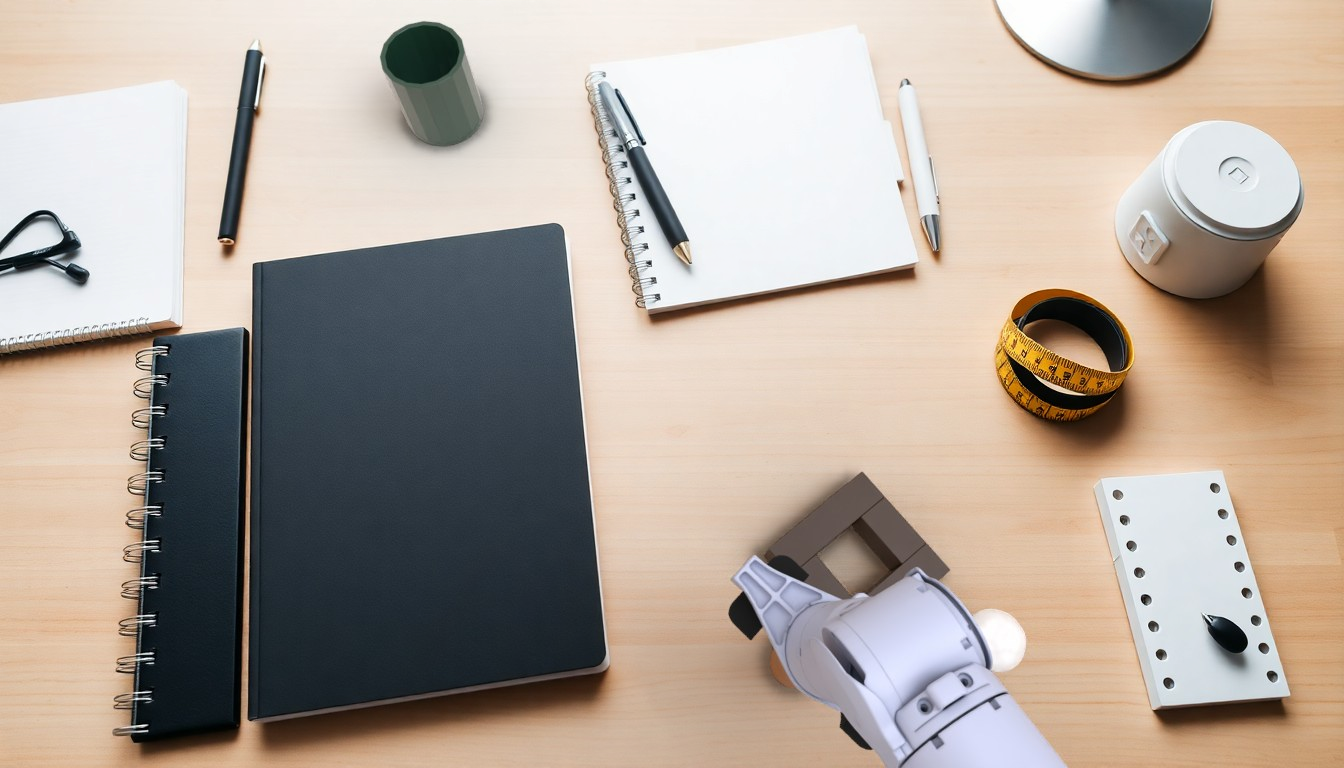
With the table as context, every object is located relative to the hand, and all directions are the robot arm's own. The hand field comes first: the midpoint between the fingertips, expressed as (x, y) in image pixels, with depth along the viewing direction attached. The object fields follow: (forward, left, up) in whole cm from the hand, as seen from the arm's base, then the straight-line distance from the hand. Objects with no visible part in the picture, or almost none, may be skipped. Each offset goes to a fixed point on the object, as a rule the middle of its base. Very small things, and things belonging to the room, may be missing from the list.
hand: (803, 647), depth 59 cm
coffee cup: (+64, -8, -11) cm, 65 cm away
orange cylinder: (-1, 0, -11) cm, 11 cm away
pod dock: (+2, -9, -11) cm, 14 cm away
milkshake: (-9, -12, -11) cm, 18 cm away
